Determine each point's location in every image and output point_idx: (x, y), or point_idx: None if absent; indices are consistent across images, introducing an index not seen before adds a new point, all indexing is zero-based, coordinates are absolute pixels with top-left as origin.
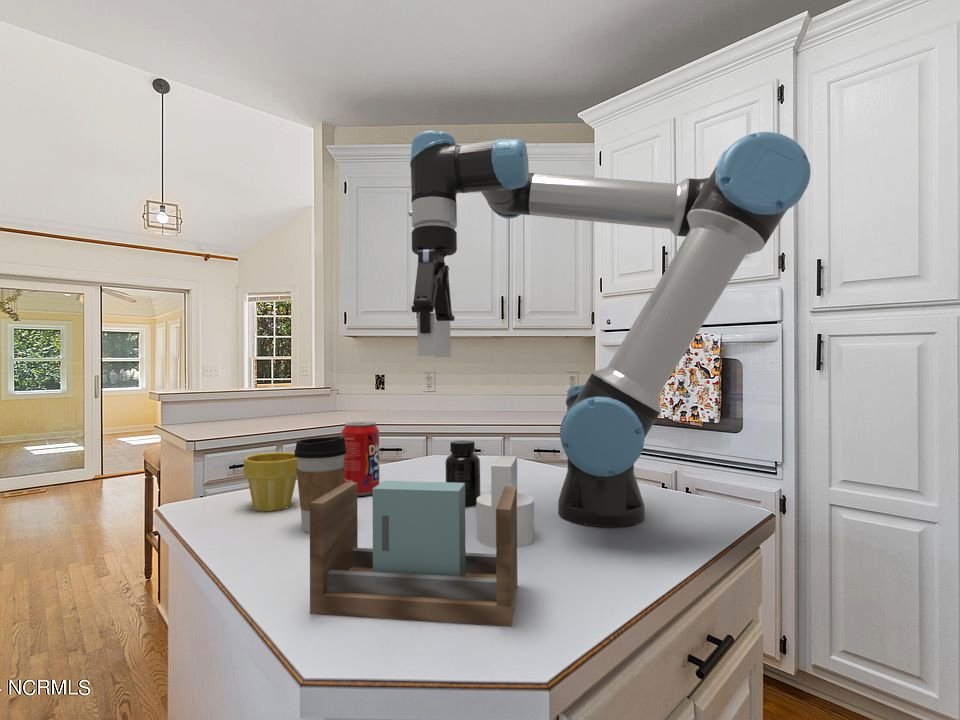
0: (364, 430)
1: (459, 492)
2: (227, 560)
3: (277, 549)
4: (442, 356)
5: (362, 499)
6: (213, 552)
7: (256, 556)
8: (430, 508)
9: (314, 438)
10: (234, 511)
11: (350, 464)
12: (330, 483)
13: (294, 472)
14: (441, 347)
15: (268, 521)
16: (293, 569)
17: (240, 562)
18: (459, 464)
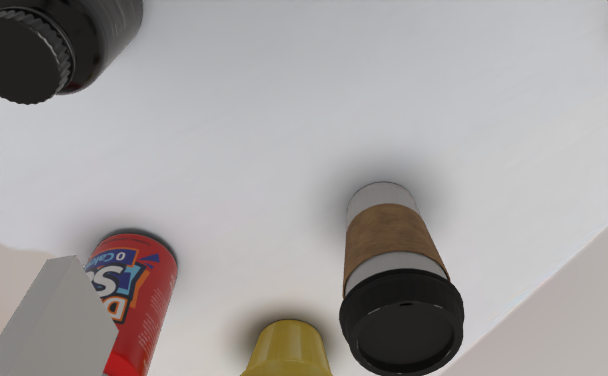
0: (114, 362)
1: None
2: (553, 247)
3: (500, 212)
4: (95, 298)
5: (179, 235)
6: (522, 282)
7: (533, 221)
8: None
9: (370, 367)
10: (332, 371)
11: (162, 314)
12: (423, 238)
13: (287, 362)
14: (76, 353)
15: None
16: (586, 140)
17: (560, 226)
18: (101, 30)
